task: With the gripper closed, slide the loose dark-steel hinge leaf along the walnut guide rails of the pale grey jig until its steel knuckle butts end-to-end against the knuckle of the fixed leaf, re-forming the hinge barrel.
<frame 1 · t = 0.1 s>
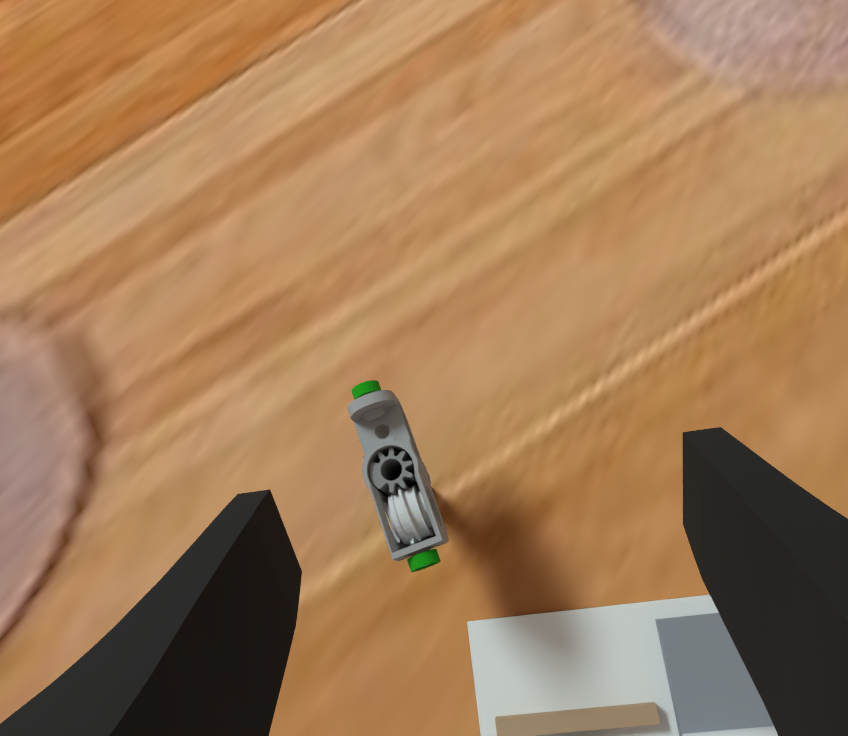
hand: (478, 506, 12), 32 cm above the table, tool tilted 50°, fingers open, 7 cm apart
mechanical component: (422, 495, 44), on the table
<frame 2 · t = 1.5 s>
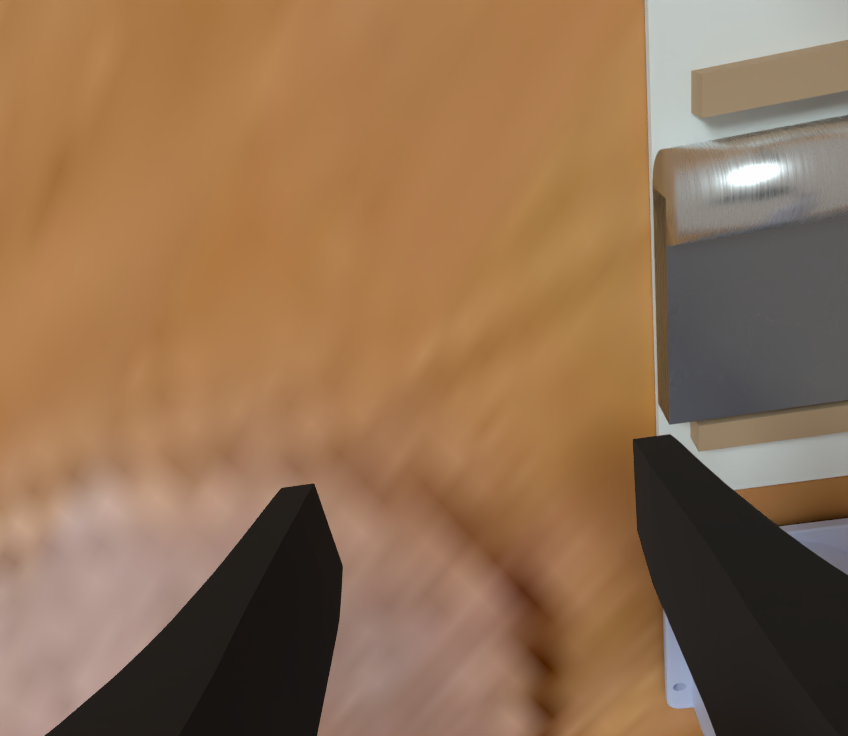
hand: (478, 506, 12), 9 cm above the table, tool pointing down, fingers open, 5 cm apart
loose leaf: (781, 267, 19), resting on hinge jig
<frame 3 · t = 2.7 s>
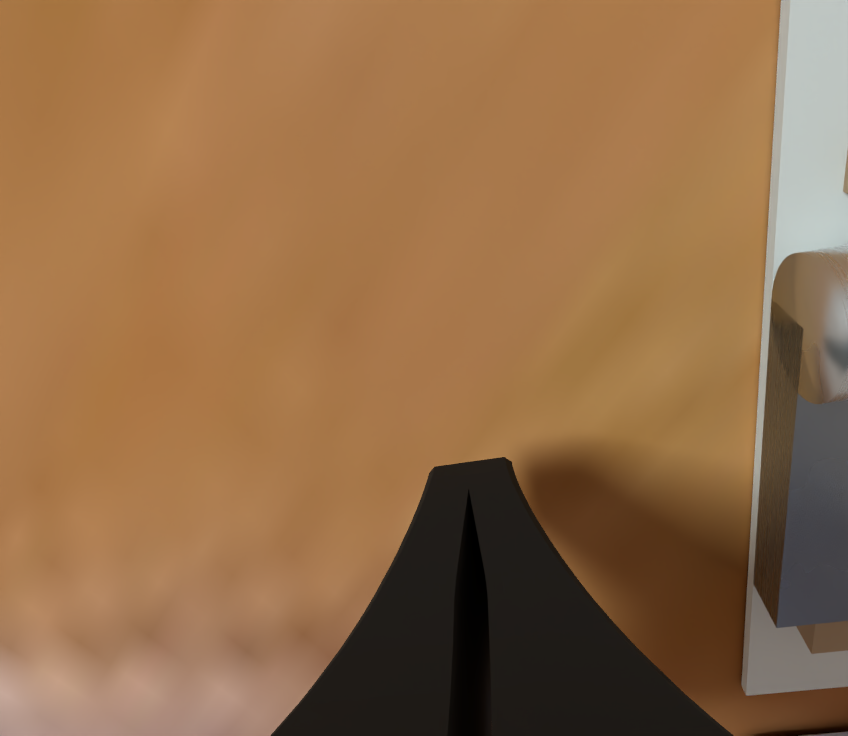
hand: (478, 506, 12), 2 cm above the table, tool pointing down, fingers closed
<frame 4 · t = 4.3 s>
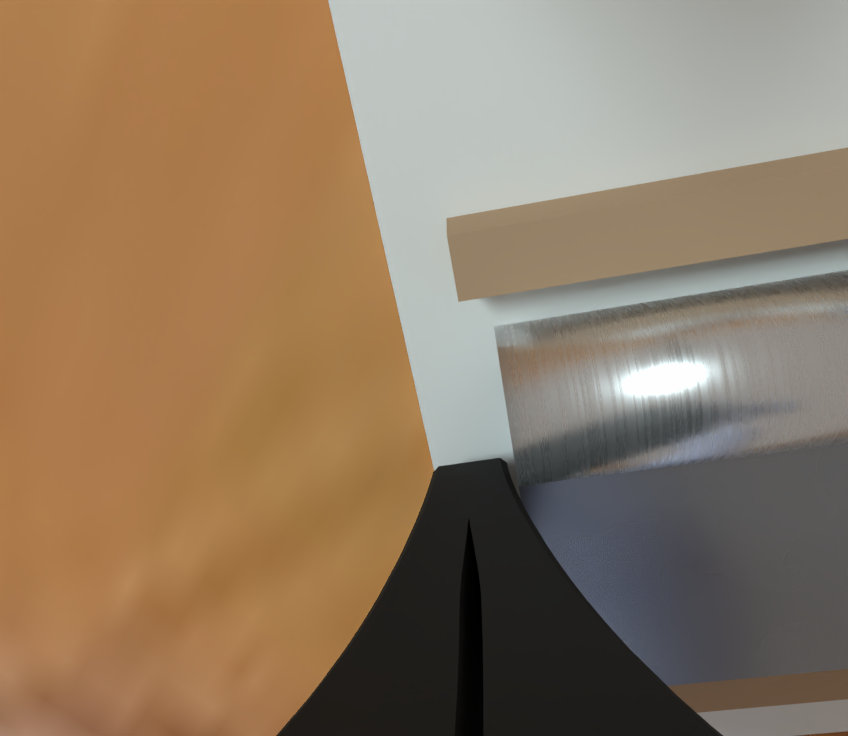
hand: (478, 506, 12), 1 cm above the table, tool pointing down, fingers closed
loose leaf: (715, 479, 12), resting on hinge jig, touching gripper
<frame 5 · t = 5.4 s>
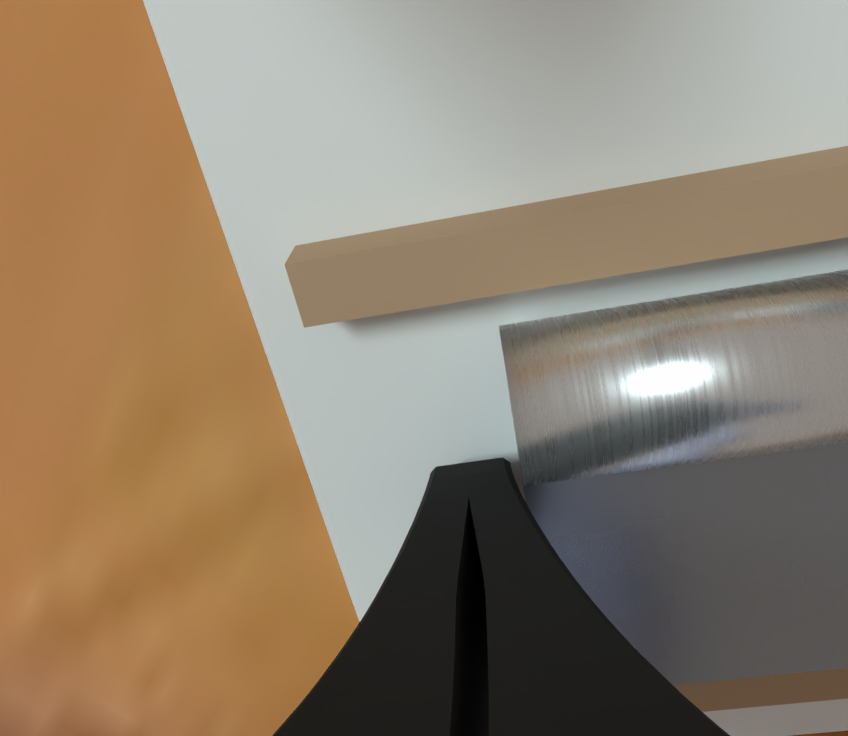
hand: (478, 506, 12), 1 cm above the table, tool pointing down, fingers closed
hinge jig: (846, 385, 11), on the table
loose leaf: (719, 478, 12), resting on hinge jig, touching gripper
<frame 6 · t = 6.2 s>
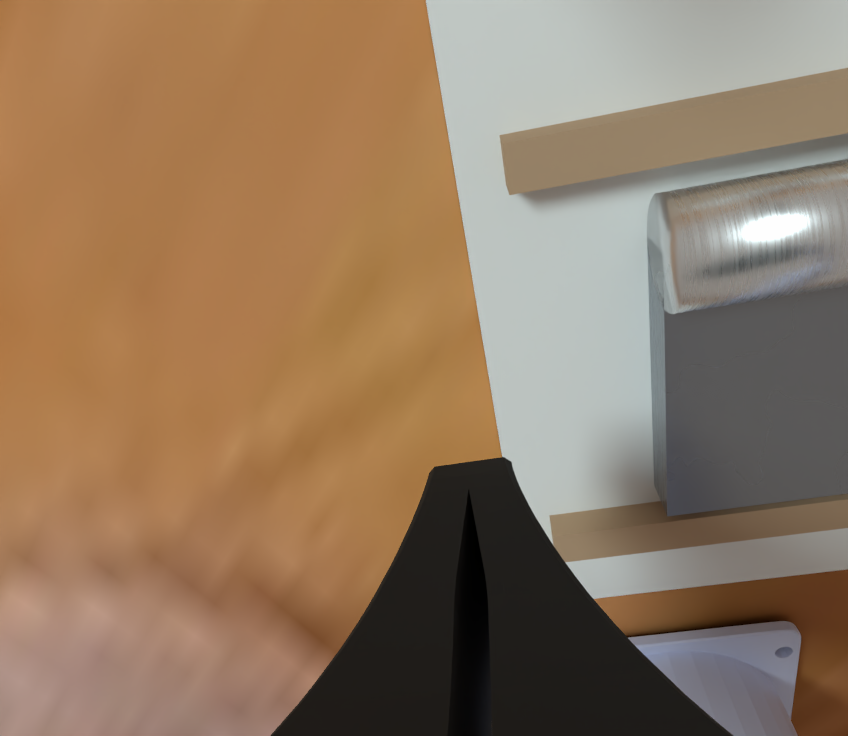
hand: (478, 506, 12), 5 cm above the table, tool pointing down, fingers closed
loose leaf: (805, 331, 15), resting on hinge jig
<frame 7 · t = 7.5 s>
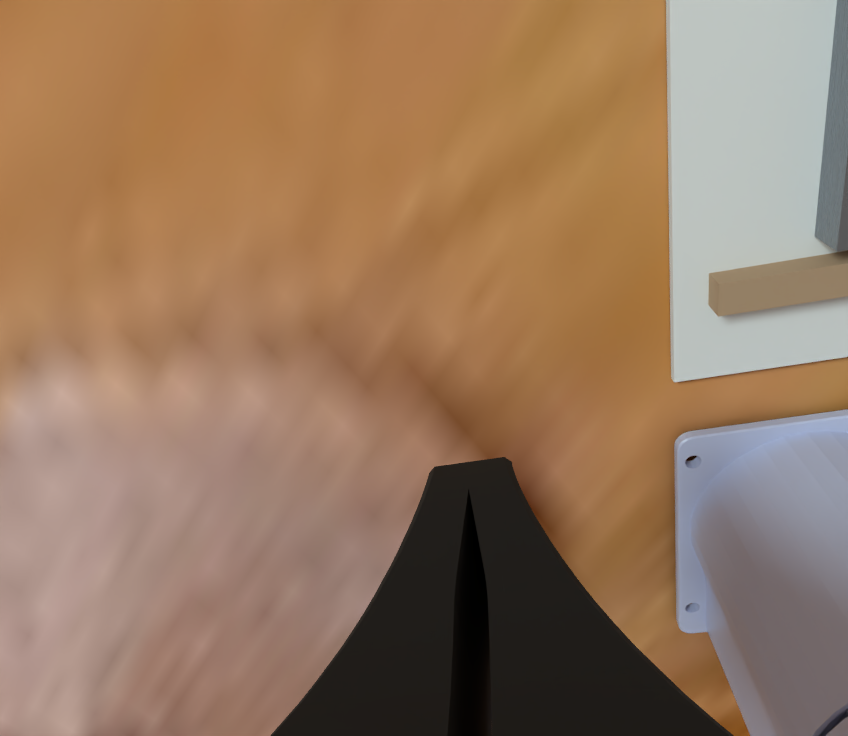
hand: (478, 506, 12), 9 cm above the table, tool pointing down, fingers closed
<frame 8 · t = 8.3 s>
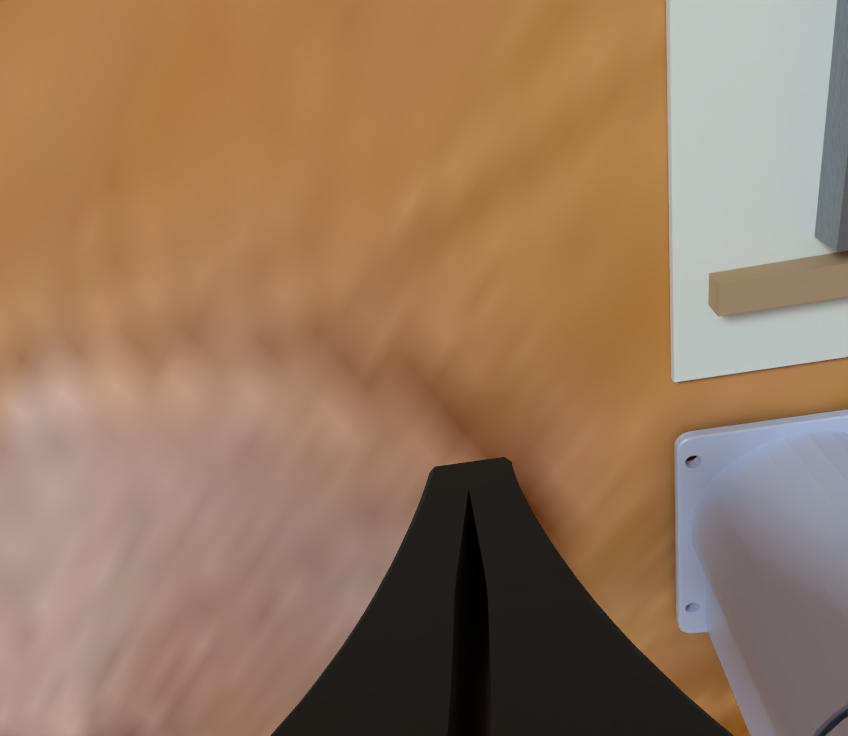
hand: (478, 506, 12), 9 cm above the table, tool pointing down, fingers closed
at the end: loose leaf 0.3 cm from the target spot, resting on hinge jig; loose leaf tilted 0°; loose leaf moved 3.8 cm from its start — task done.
